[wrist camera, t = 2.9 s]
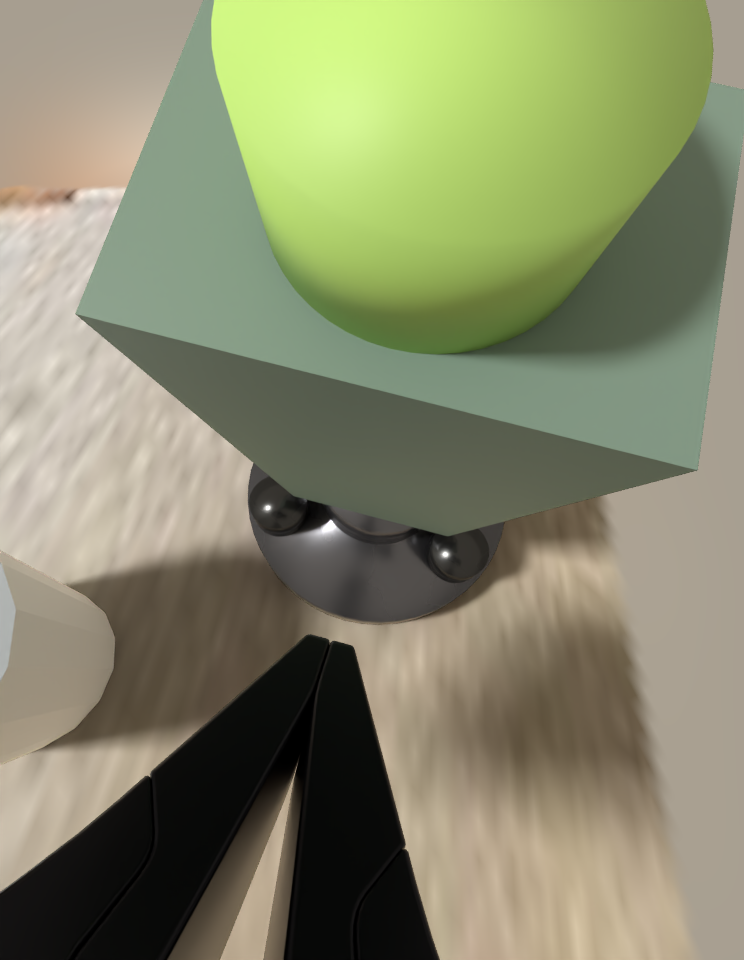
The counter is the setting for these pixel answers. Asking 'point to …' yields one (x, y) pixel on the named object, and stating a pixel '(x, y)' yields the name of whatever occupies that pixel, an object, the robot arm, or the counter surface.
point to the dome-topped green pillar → (434, 247)
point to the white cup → (47, 658)
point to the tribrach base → (362, 557)
